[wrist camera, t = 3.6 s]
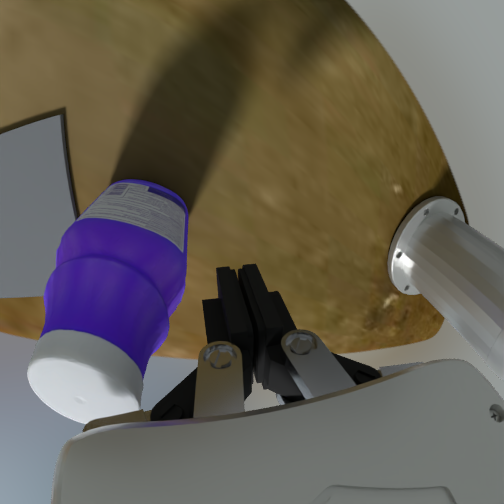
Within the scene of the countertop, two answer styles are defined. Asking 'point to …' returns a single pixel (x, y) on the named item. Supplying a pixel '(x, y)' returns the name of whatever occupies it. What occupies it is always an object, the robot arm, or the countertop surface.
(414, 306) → the countertop surface
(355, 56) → the countertop surface
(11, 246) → the mat
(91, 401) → the bottle
